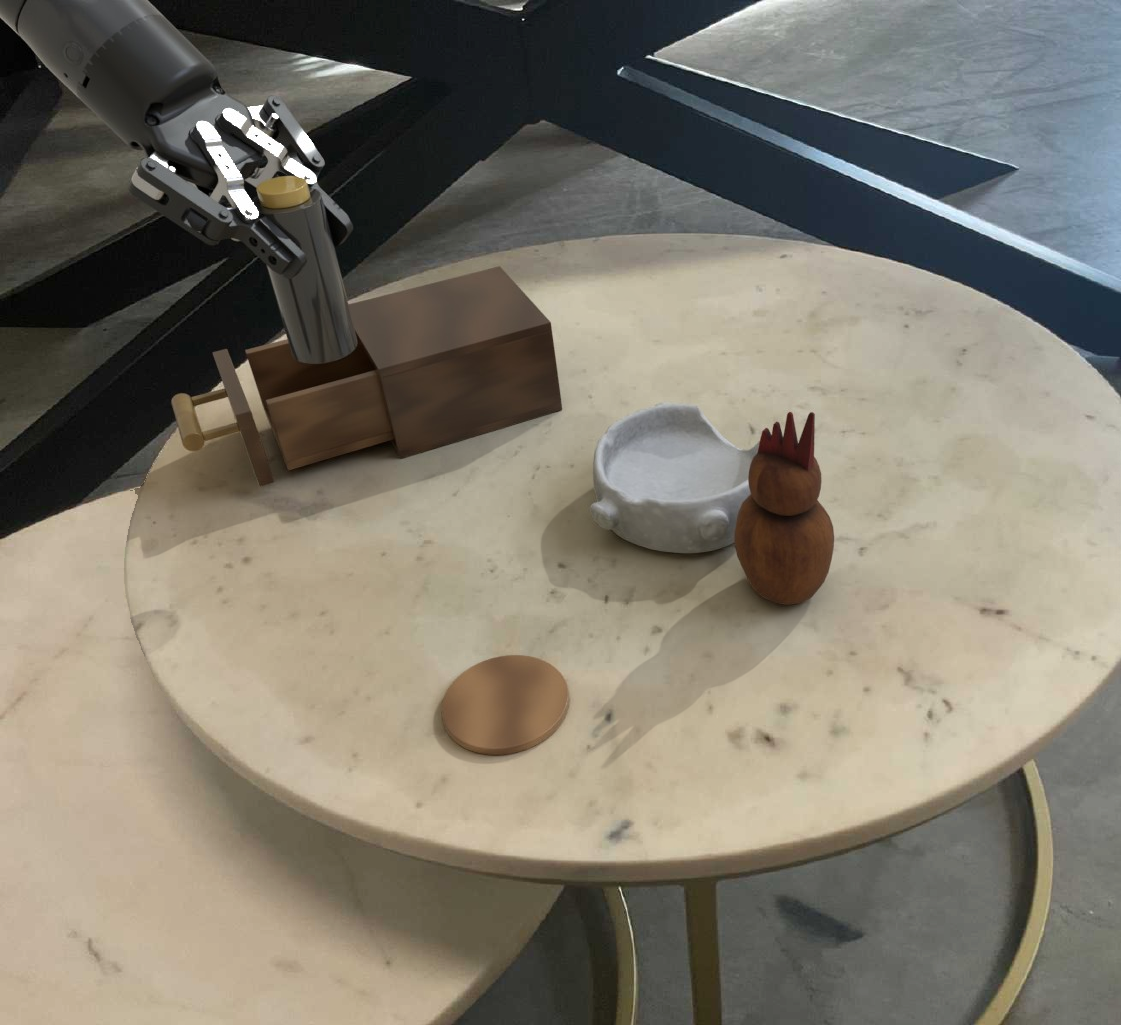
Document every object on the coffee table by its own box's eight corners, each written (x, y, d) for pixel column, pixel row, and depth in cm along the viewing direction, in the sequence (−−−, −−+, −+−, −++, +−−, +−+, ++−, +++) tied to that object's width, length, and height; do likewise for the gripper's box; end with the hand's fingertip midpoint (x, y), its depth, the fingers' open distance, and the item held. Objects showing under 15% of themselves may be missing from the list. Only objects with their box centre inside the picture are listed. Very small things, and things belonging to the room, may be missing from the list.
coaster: (466, 774, 68) (464, 767, 67) (427, 688, 73) (425, 682, 73) (589, 724, 70) (588, 717, 70) (542, 645, 76) (541, 638, 76)
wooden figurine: (847, 595, 79) (857, 412, 69) (781, 630, 76) (782, 445, 67) (786, 546, 83) (788, 368, 74) (722, 578, 81) (716, 397, 72)
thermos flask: (299, 370, 79) (251, 203, 71) (285, 343, 82) (239, 181, 75) (364, 353, 80) (325, 188, 73) (348, 327, 83) (309, 166, 76)
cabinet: (400, 459, 95) (378, 369, 89) (362, 391, 104) (340, 306, 98) (562, 410, 99) (551, 322, 94) (513, 349, 108) (500, 265, 103)
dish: (647, 437, 95) (643, 386, 92) (801, 476, 90) (802, 423, 87) (555, 537, 85) (546, 483, 82) (721, 587, 80) (719, 531, 77)
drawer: (204, 504, 89) (176, 431, 85) (184, 434, 98) (158, 365, 93) (423, 438, 95) (407, 368, 91) (387, 378, 103) (371, 311, 99)
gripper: (176, 64, 80) (358, 243, 84) (16, 131, 69) (232, 333, 73) (215, -14, 75) (406, 180, 79) (49, 45, 65) (279, 266, 68)
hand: (321, 252), depth 76 cm, fingers closed on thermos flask, 4 cm apart
